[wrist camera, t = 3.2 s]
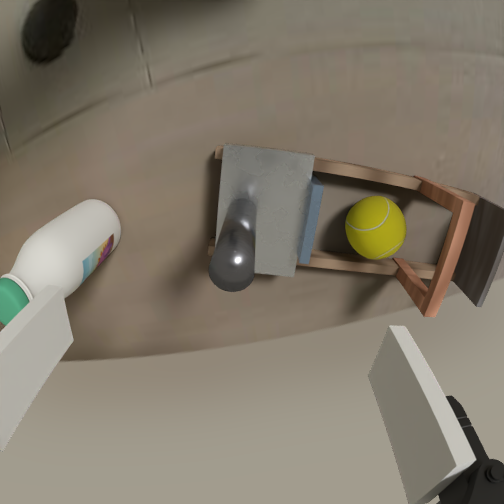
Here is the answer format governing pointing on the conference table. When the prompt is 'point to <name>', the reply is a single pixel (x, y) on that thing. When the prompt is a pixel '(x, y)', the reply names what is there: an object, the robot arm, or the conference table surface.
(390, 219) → the tennis ball
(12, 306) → the milk bottle
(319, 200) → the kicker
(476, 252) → the lane
